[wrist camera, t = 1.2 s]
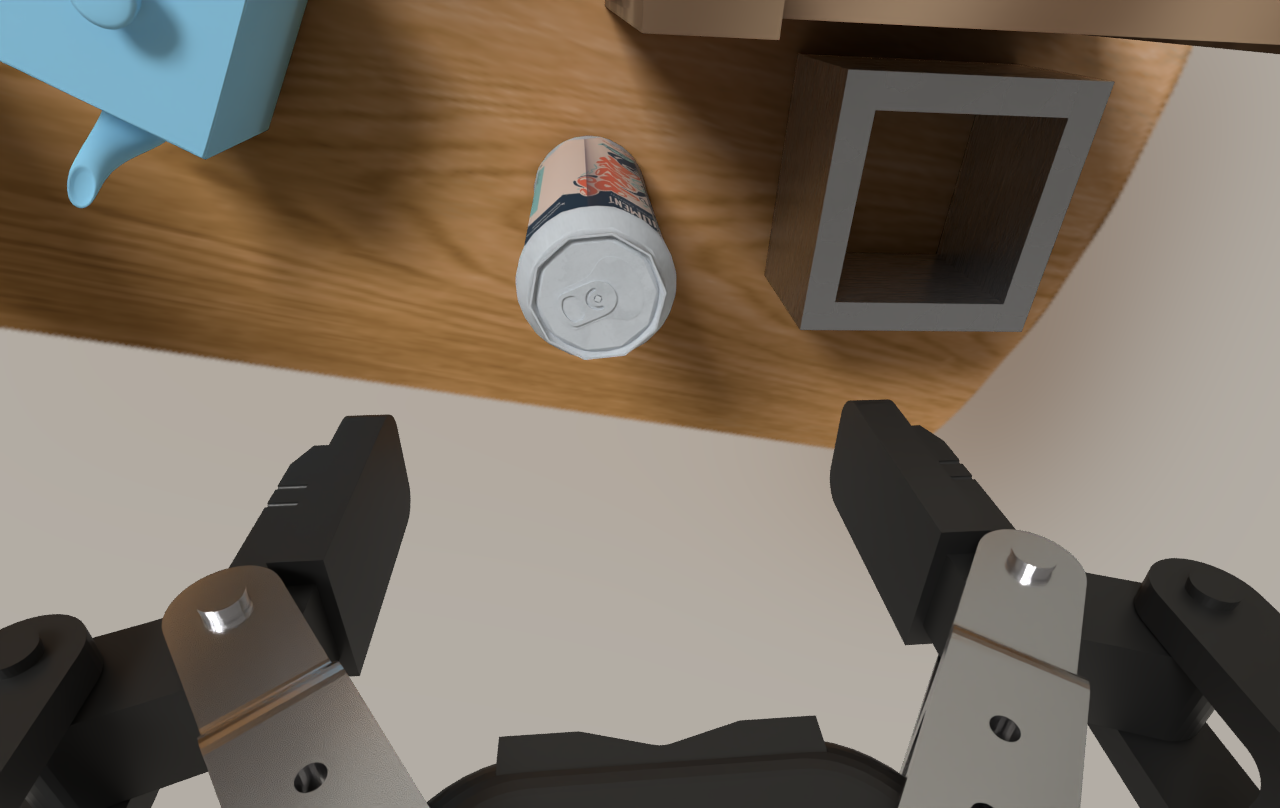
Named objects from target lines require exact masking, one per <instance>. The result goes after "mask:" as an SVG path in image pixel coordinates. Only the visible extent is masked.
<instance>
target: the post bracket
mask: <svg viewBox="0 0 1280 808" xmlns="http://www.w3.org/2000/svg"><path fill="white" fill-rule="evenodd" d="M1113 85H1114V81H1108V80H1103V79H1097V78H1091V77H1086V76H1080V75H1075V74H1069V73H1064V72H1058V71H1053V70H1047V69H1042V68H1036V67H1030V66H1025V65H1019V64H1003V63H982V62H961V61H940V60H919V59H898V58H877V57H856V56H835V55H814V54H798V56H797V62H796V69H795V76H794V82H793V89H792V96H791V102H790V109H789V116H788V122H787V129H786V136H785V142H784V149H783V156H782V162H781V169H780V176H779V182H778V189H777V196H776V202H775V209H774V216H773V222H772V229H771V236H770V242H769V249H768V256H767V263H766V269H765V277H766V278H767V280H768V282H769V283H770V285H771V286H772V288H773V289H774V291H775V292H776V294H777V295H778V297H779V298H780V300H781V301H782V303H783V305H784V306H785V308H786V309H787V311H788V312H789V314H790V315H791V317H792V318H793V320H794V321H795V323H796V324H797V326H798V327H799V329H800V330H880V331H997V332H1022V329H1023V327H1024V324H1025V321H1026V319H1027V316H1028V313H1029V311H1030V308H1031V305H1032V302H1033V300H1034V297H1035V294H1036V292H1037V289H1038V286H1039V284H1040V281H1041V278H1042V276H1043V273H1044V270H1045V268H1046V265H1047V262H1048V259H1049V257H1050V254H1051V251H1052V249H1053V246H1054V243H1055V241H1056V238H1057V235H1058V233H1059V230H1060V227H1061V225H1062V222H1063V219H1064V216H1065V214H1066V211H1067V208H1068V206H1069V203H1070V200H1071V198H1072V195H1073V192H1074V190H1075V187H1076V184H1077V182H1078V179H1079V176H1080V173H1081V171H1082V168H1083V165H1084V163H1085V160H1086V157H1087V155H1088V152H1089V149H1090V147H1091V144H1092V141H1093V139H1094V136H1095V133H1096V130H1097V128H1098V125H1099V122H1100V120H1101V117H1102V114H1103V112H1104V109H1105V106H1106V104H1107V101H1108V98H1109V96H1110V93H1111V90H1112V88H1113ZM875 110H882V111H907V112H932V113H957V114H976V116H975V119H974V123H973V127H972V130H971V134H970V137H969V141H968V144H967V148H966V151H965V155H964V158H963V162H962V165H961V169H960V173H959V176H958V180H957V183H956V187H955V190H954V194H953V197H952V201H951V204H950V208H949V212H948V215H947V219H946V222H945V226H944V229H943V233H942V236H941V240H940V243H939V247H938V250H937V254H896V253H846V247H847V243H848V238H849V233H850V228H851V224H852V219H853V214H854V209H855V205H856V200H857V195H858V190H859V186H860V181H861V176H862V171H863V167H864V162H865V157H866V152H867V148H868V143H869V138H870V133H871V129H872V124H873V119H874V114H875Z"/></svg>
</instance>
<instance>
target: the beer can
mask: <svg viewBox="0 0 1280 808" xmlns="http://www.w3.org/2000/svg"><path fill="white" fill-rule="evenodd" d="M516 289H517V297H518V302H519V304H520V307H521V309H522V312H523V314H524V316H525V318H526V320H527V321H528V322H529V324H530V325H531V327H532V328H533V329H534V331H535V332H536V333H537V334H538V335H539V336H540V337H541V338H542V339H544V340H545V341H546V342H548V343H549V344H551V345H553V346H555V347H557V348H559V349H561V350H563V351H565V352H567V353H569V354H571V355H575V356H578V357H580V358H582V359H584V360H588V359H597V358H606V357H616V356H625V355H626V354H628V353H629V352H630V351H631V350H633V349H635V348H637V347H638V346H640V345H642V344H644V343H645V342H646V341H648V340H649V339H650V338H651V337H652V336H653V335H654V334H655V333H656V332H657V331H658V330H659V329H660V328H661V326H662V325H663V324H664V322H665V320H666V318H667V317H668V315H669V313H670V311H671V308H672V304H673V301H674V298H675V294H676V270H675V267H674V263H673V260H672V256H671V254H670V252H669V250H668V248H667V246H666V244H665V242H664V240H663V237H662V234H661V231H660V228H659V226H658V223H657V220H656V217H655V214H654V211H653V208H652V205H651V202H650V200H649V197H648V194H647V191H646V187H645V183H644V179H643V176H642V172H641V170H640V168H639V167H638V165H637V163H636V161H635V159H634V158H633V156H632V155H631V154H630V153H629V152H628V151H627V150H625V149H624V148H623V147H622V146H620V145H618V144H616V143H615V142H613V141H611V140H609V139H606V138H603V137H597V136H582V137H575V138H572V139H569V140H567V141H564V142H563V143H561V144H559V145H557V146H556V147H555V148H554V149H553V150H552V151H551V152H550V153H548V155H547V156H546V157H545V159H544V160H543V162H542V163H541V164H540V166H539V169H538V171H537V175H536V179H535V184H534V198H533V204H532V209H531V214H530V219H529V224H528V230H527V235H526V240H525V245H524V248H523V251H522V253H521V256H520V259H519V264H518V268H517V273H516Z"/></svg>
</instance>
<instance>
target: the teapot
mask: <svg viewBox="0 0 1280 808" xmlns="http://www.w3.org/2000/svg"><path fill="white" fill-rule="evenodd" d="M307 2H308V0H0V61H1V62H3V63H5V64H7V65H9V66H11V67H13V68H15V69H18V70H20V71H22V72H24V73H26V74H28V75H30V76H32V77H34V78H36V79H38V80H40V81H43V82H45V83H47V84H49V85H51V86H53V87H55V88H57V89H59V90H61V91H63V92H65V93H67V94H70V95H72V96H74V97H76V98H78V99H80V100H82V101H84V102H86V103H88V104H90V105H92V106H95V107H97V108H99V109H101V110H102V112H101V115H100V117H99V119H98V121H97V123H96V124H95V126H94V128H93V130H92V131H91V133H90V134H89V136H88V138H87V139H86V141H85V143H84V144H83V146H82V148H81V149H80V151H79V153H78V155H77V157H76V159H75V160H74V162H73V164H72V166H71V169H70V172H69V175H68V182H67V191H68V197H69V199H70V201H71V203H72V204H73V205H74V206H76V207H78V208H85V207H87V206H88V205H90V204H91V203H92V201H93V200H94V199H95V197H96V196H97V194H98V192H99V190H100V188H101V187H102V185H103V183H104V181H105V180H106V179H107V178H108V176H109V175H110V174H111V173H112V172H113V171H114V170H115V169H116V168H118V167H119V166H120V165H121V164H123V163H125V162H127V161H128V160H130V159H132V158H134V157H136V156H138V155H140V154H142V153H145V152H147V151H149V150H151V149H153V148H155V147H157V146H159V145H161V144H162V143H164V142H165V141H167V142H169V143H172V144H174V145H176V146H178V147H180V148H182V149H184V150H186V151H188V152H190V153H192V154H194V155H196V156H199V157H201V158H203V159H205V160H206V159H208V158H210V157H212V156H214V155H216V154H218V153H220V152H223V151H225V150H227V149H229V148H231V147H233V146H235V145H237V144H239V143H241V142H244V141H246V140H248V139H250V138H252V137H254V136H256V135H258V134H260V133H262V132H265V131H267V130H268V129H269V126H270V123H271V120H272V117H273V113H274V110H275V107H276V104H277V100H278V97H279V94H280V90H281V87H282V84H283V81H284V77H285V74H286V71H287V68H288V64H289V61H290V58H291V55H292V51H293V48H294V45H295V41H296V38H297V35H298V32H299V28H300V25H301V22H302V18H303V15H304V12H305V8H306V5H307Z"/></svg>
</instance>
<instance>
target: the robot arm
mask: <svg viewBox="0 0 1280 808" xmlns="http://www.w3.org/2000/svg"><path fill="white" fill-rule="evenodd" d="M830 487H831V494H832V498H833V501H834V503H835V506H836V507H837V509H838V512H839V513H840V516H841V518H842V519H843V521H844V524H845V526H846V527H847V529H848V531H849V534H850V535H851V537H852V540H853V542H854V544H855V545H856V548H857V549H858V551H859V554H860V555H861V557H862V560H863V562H864V564H865V566H866V567H867V569H868V572H869V574H870V575H871V578H872V580H873V582H874V584H875V586H876V588H877V590H878V592H879V594H880V596H881V598H882V600H883V601H884V604H885V605H886V608H887V610H888V611H889V614H890V616H891V617H892V619H893V621H894V623H895V626H896V628H897V630H898V631H899V634H900V636H901V637H902V639H903V642H904V644H905V645H915V644H932V643H933V645H934V647H935V649H936V650H937V652H938V657H937V660H936V662H935V665H934V668H933V671H932V674H931V677H930V680H929V684H928V687H927V690H926V693H925V696H924V699H923V702H922V705H921V708H920V712H919V715H918V718H917V721H916V724H915V727H914V730H913V734H912V736H911V740H910V743H909V746H908V749H907V752H906V755H905V758H904V761H903V764H902V767H901V770H900V773H898V772H896V771H895V770H894V769H892V768H891V767H889V766H887V765H885V764H883V763H882V762H880V761H878V760H876V759H874V758H872V757H870V756H868V755H866V754H863V753H861V752H859V751H856V750H854V749H850V748H848V747H844V746H841V745H838V744H834V743H829V742H825V741H824V740H823V737H822V734H821V731H820V728H819V725H818V722H817V719H816V716H801V717H787V718H772V719H758V720H742V721H737V722H734V723H731V724H728V725H725V726H722V727H719V728H716V729H714V730H710V731H707V732H705V733H702V734H698V735H696V736H693V737H690V738H687V739H684V740H681V741H678V742H675V743H672V744H668V745H660V746H659V745H651V744H645V743H640V742H634V741H629V740H623V739H617V738H612V737H606V736H601V735H595V734H590V733H584V732H565V733H550V734H536V735H521V736H505V737H499V744H498V754H497V764H494V765H491V766H488V767H485V768H482V769H480V770H478V771H476V772H474V773H472V774H469V775H467V776H465V777H463V778H461V779H460V780H458V781H456V782H455V783H453V784H451V785H450V786H448V787H447V788H445V789H444V790H442V791H441V792H440V793H438V794H437V795H436V796H434V797H433V798H432V799H430V800H429V801H428V802H427V803H426V801H425V800H424V798H423V796H422V795H421V793H420V791H419V790H418V788H417V787H416V785H415V783H414V782H413V780H412V778H411V777H410V775H409V774H408V772H407V770H406V769H405V767H404V765H403V764H402V762H401V760H400V759H399V757H398V756H397V754H396V752H395V751H394V749H393V748H392V746H391V744H390V743H389V741H388V739H387V738H386V736H385V734H384V733H383V731H382V730H381V728H380V726H379V725H378V723H377V721H376V720H375V718H374V717H373V715H372V714H371V712H370V710H369V708H368V707H367V705H366V704H365V702H364V700H363V699H362V697H361V695H360V694H359V692H358V691H357V689H356V687H355V686H354V684H353V682H352V681H351V679H350V678H349V676H360V673H361V670H362V667H363V664H364V660H365V657H366V654H367V651H368V647H369V644H370V641H371V638H372V634H373V632H374V628H375V625H376V622H377V619H378V615H379V612H380V609H381V606H382V603H383V600H384V596H385V593H386V590H387V587H388V583H389V580H390V577H391V574H392V571H393V568H394V564H395V561H396V558H397V555H398V552H399V549H400V545H401V542H402V539H403V536H404V532H405V529H406V526H407V523H408V519H409V514H410V488H409V482H408V477H407V473H406V468H405V463H404V458H403V453H402V448H401V443H400V439H399V434H398V429H397V425H396V422H395V420H394V417H393V416H392V415H363V416H346V417H345V418H344V419H343V420H342V422H341V424H340V426H339V427H338V429H337V431H336V433H335V435H334V437H333V439H332V440H331V442H330V444H329V445H321V446H313V447H312V448H311V449H309V450H308V451H307V452H306V453H304V454H303V455H302V456H301V457H299V458H298V459H297V460H295V461H294V462H293V463H292V464H291V465H290V466H289V468H288V469H287V471H286V473H285V475H284V476H283V478H282V480H281V481H280V483H279V485H278V490H275V491H274V493H273V495H272V496H271V498H270V500H269V501H268V507H267V508H264V510H263V511H262V514H261V515H260V517H259V518H258V520H257V522H256V523H255V525H254V527H253V528H252V530H251V532H250V533H249V535H248V537H247V538H246V540H245V542H244V543H243V545H242V547H241V548H240V550H239V552H238V553H237V555H236V557H235V559H234V560H233V562H232V564H231V565H230V567H229V568H228V569H224V570H221V571H218V572H215V573H213V574H210V575H208V576H206V577H204V578H202V579H200V580H198V581H197V582H195V583H194V584H192V585H190V586H189V587H188V588H186V589H185V590H184V591H182V592H181V593H180V594H179V595H178V596H177V597H176V598H175V599H174V600H173V602H172V603H171V604H170V605H169V607H168V609H167V610H166V612H165V614H164V617H163V618H162V619H158V620H155V621H152V622H149V623H145V624H142V625H138V626H134V627H130V628H127V629H123V630H120V631H117V632H113V633H109V634H105V635H102V636H98V637H95V638H92V637H91V635H90V633H89V632H88V630H87V628H86V627H85V625H84V624H83V623H82V622H81V621H80V620H79V619H77V618H76V617H72V616H69V615H61V614H56V615H55V614H53V615H44V616H38V617H34V618H30V619H26V620H23V621H20V622H17V623H14V624H12V625H10V626H7V627H5V628H2V629H1V630H0V808H151V806H152V804H153V802H154V800H155V798H156V796H157V793H158V791H159V789H160V788H163V787H166V786H169V785H172V784H174V783H177V782H180V781H183V780H186V779H188V778H191V777H194V776H197V775H200V774H203V773H205V772H209V775H210V777H211V780H212V783H213V786H214V788H215V791H216V794H217V797H218V799H219V802H220V805H221V808H1080V802H1081V792H1082V780H1083V769H1084V757H1085V745H1086V734H1087V724H1088V726H1089V727H1090V729H1091V731H1092V732H1093V734H1094V735H1095V737H1096V738H1097V740H1098V742H1099V743H1100V745H1101V747H1102V748H1103V750H1104V751H1105V753H1106V754H1107V756H1108V758H1109V759H1110V761H1111V762H1112V764H1113V766H1114V767H1115V769H1116V770H1117V772H1118V774H1119V775H1120V777H1121V778H1122V780H1123V782H1124V783H1125V785H1126V786H1127V788H1128V790H1129V791H1130V793H1131V794H1132V796H1133V798H1134V799H1135V801H1136V802H1137V804H1138V806H1139V807H1140V808H1280V613H1279V612H1278V611H1277V610H1276V609H1275V608H1274V607H1273V606H1272V605H1271V604H1270V603H1269V602H1267V601H1266V600H1265V599H1264V598H1263V597H1262V596H1261V595H1260V594H1259V593H1258V592H1257V591H1255V590H1254V589H1253V588H1252V587H1250V586H1249V585H1248V584H1246V583H1245V582H1243V581H1242V580H1240V579H1238V578H1237V577H1235V576H1233V575H1231V574H1229V573H1227V572H1225V571H1223V570H1221V569H1218V568H1216V567H1214V566H1211V565H1208V564H1205V563H1202V562H1198V561H1194V560H1188V559H1177V558H1171V559H1164V560H1160V561H1158V562H1156V563H1155V564H1153V565H1152V566H1151V568H1150V570H1149V572H1148V573H1147V575H1146V577H1145V579H1144V581H1143V582H1142V583H1140V582H1134V581H1129V580H1123V579H1118V578H1112V577H1106V576H1101V575H1095V574H1090V573H1086V572H1085V571H1084V569H1083V567H1082V566H1081V564H1080V563H1079V562H1078V561H1077V559H1076V558H1075V557H1074V556H1073V555H1072V554H1071V553H1070V552H1068V551H1067V550H1065V549H1064V548H1063V547H1061V546H1060V545H1058V544H1056V543H1055V542H1053V541H1051V540H1049V539H1047V538H1045V537H1042V536H1039V535H1037V534H1034V533H1030V532H1026V531H1021V530H1016V529H1015V528H1014V527H1013V526H1012V524H1011V523H1010V522H1009V521H1008V519H1007V518H1006V517H1005V516H1004V515H1003V513H1002V512H1001V511H1000V510H999V508H998V507H997V506H996V505H995V503H994V502H993V501H992V500H991V498H990V497H989V496H988V495H987V494H986V492H985V491H984V490H983V489H982V487H981V486H980V485H979V484H978V482H977V481H976V480H975V479H974V480H973V479H972V475H971V474H970V472H969V471H968V470H967V469H966V468H965V466H964V465H963V464H960V463H959V459H958V458H957V456H956V455H955V454H954V453H953V451H952V450H951V449H950V448H949V447H948V445H947V444H946V443H945V442H944V441H943V440H941V439H940V438H938V437H937V436H935V435H934V434H932V433H931V432H929V431H928V430H926V429H925V428H923V427H922V426H920V425H917V426H911V425H910V423H909V422H908V421H907V419H906V418H905V417H904V415H903V414H902V413H901V412H900V410H899V409H898V408H897V406H896V405H895V404H894V403H893V401H891V400H857V401H848V402H846V404H845V405H844V407H843V410H842V414H841V418H840V424H839V429H838V434H837V439H836V444H835V449H834V455H833V459H832V465H831V470H830ZM1214 710H1216V711H1217V713H1218V714H1219V715H1220V716H1221V717H1222V719H1223V720H1224V721H1225V722H1226V724H1227V725H1228V726H1229V727H1230V728H1231V730H1232V731H1233V732H1234V733H1235V735H1236V736H1237V737H1238V738H1239V740H1240V741H1241V742H1242V743H1243V744H1244V746H1245V747H1246V748H1247V749H1248V751H1249V752H1250V753H1251V755H1252V757H1253V758H1254V760H1255V762H1256V765H1257V767H1258V770H1259V773H1260V778H1261V790H1259V789H1258V788H1257V786H1256V785H1255V784H1254V783H1253V781H1252V780H1251V779H1250V778H1249V776H1248V775H1247V774H1246V772H1245V771H1244V770H1243V769H1242V767H1241V766H1240V765H1239V764H1238V762H1237V761H1236V760H1235V759H1234V757H1233V756H1232V755H1231V753H1230V752H1229V751H1228V750H1227V749H1226V747H1225V746H1224V745H1223V743H1222V742H1221V741H1220V740H1219V738H1218V737H1217V736H1216V734H1215V733H1214V732H1213V731H1212V729H1211V728H1210V727H1209V726H1208V724H1207V723H1206V721H1207V719H1208V718H1209V717H1210V715H1211V714H1212V713H1213V711H1214Z"/></svg>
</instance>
